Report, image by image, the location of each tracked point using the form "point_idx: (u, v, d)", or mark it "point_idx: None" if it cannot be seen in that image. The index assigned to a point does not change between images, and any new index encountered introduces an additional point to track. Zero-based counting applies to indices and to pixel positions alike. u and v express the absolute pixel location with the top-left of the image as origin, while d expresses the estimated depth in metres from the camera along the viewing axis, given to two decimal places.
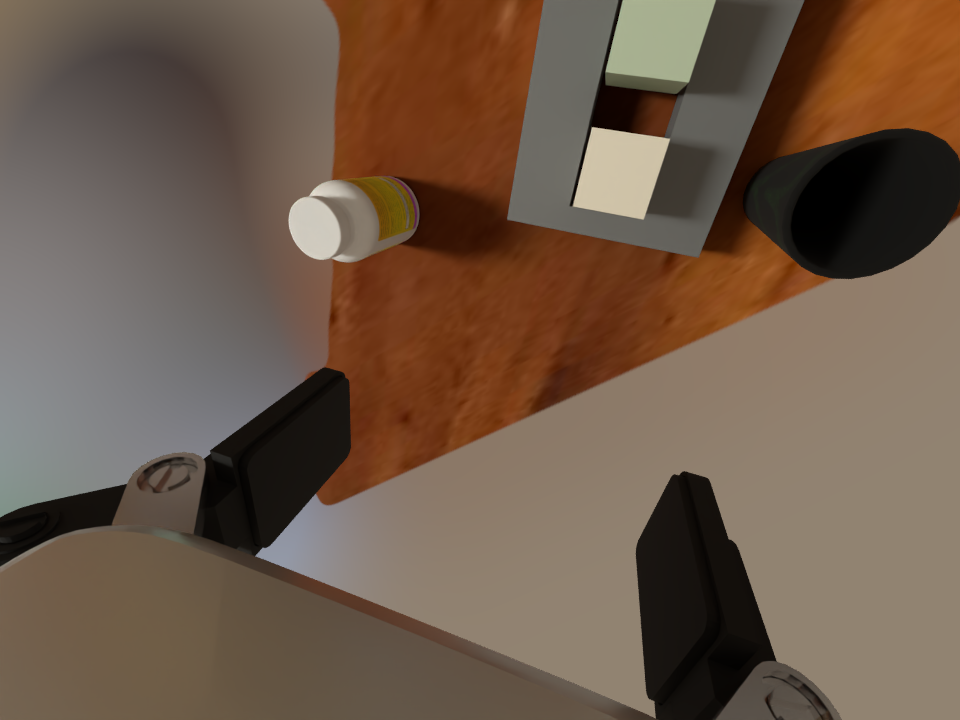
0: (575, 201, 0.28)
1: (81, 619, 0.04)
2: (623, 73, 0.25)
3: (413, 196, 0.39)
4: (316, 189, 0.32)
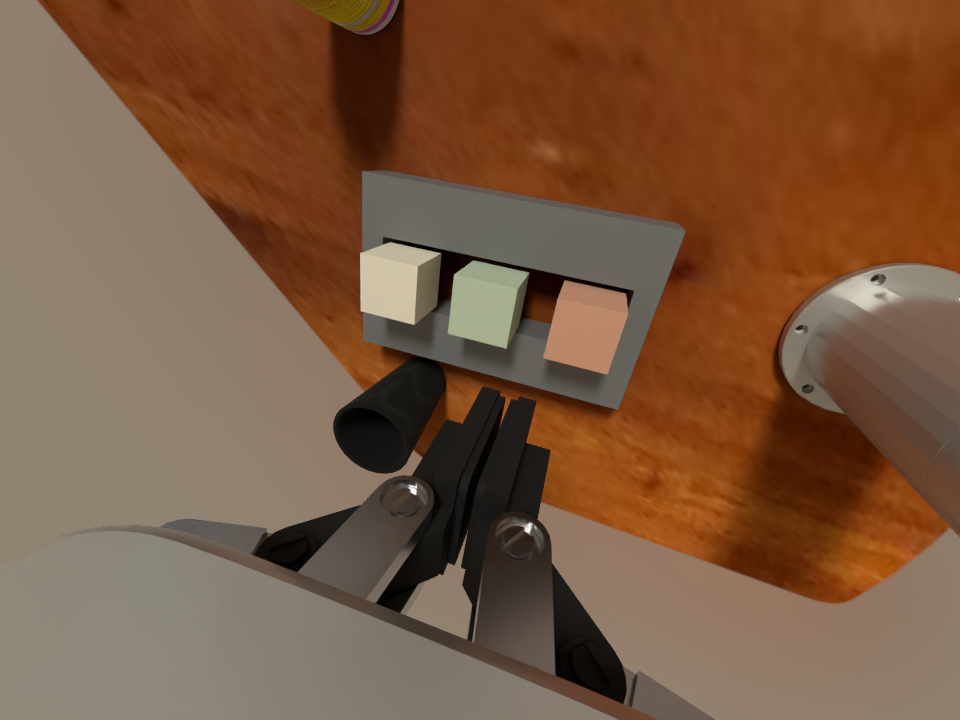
0: (364, 255, 0.32)
1: (81, 619, 0.04)
2: (453, 288, 0.31)
3: (381, 26, 0.31)
4: None
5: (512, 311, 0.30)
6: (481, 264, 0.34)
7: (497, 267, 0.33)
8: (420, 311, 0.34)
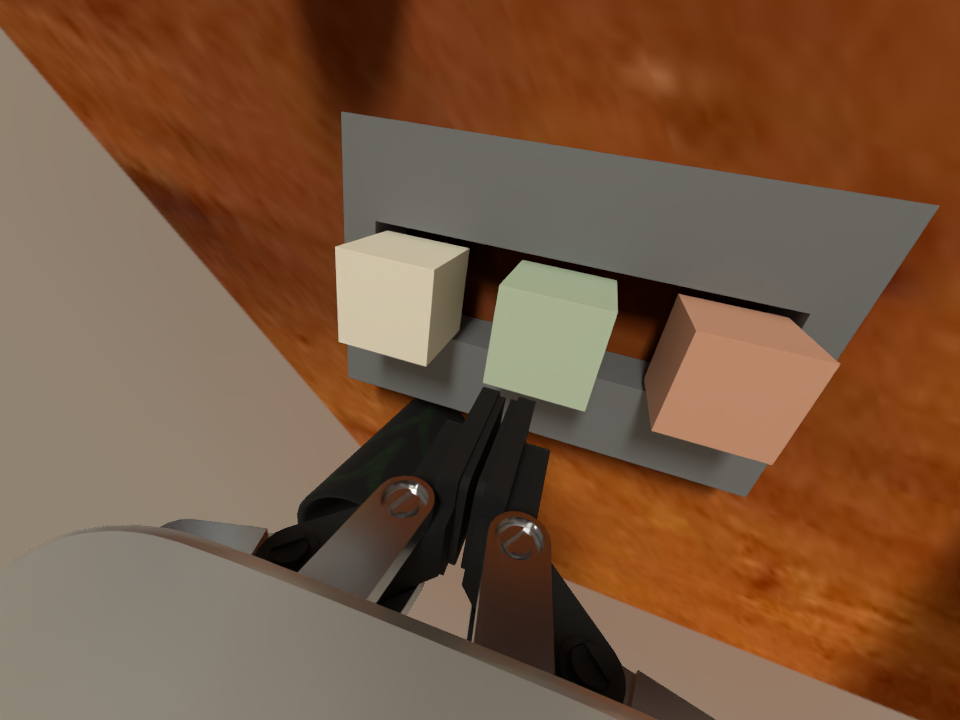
0: (341, 250, 0.18)
1: (81, 619, 0.04)
2: (496, 309, 0.17)
3: None
4: None
5: (603, 351, 0.17)
6: (537, 266, 0.20)
7: (563, 271, 0.20)
8: (436, 343, 0.20)
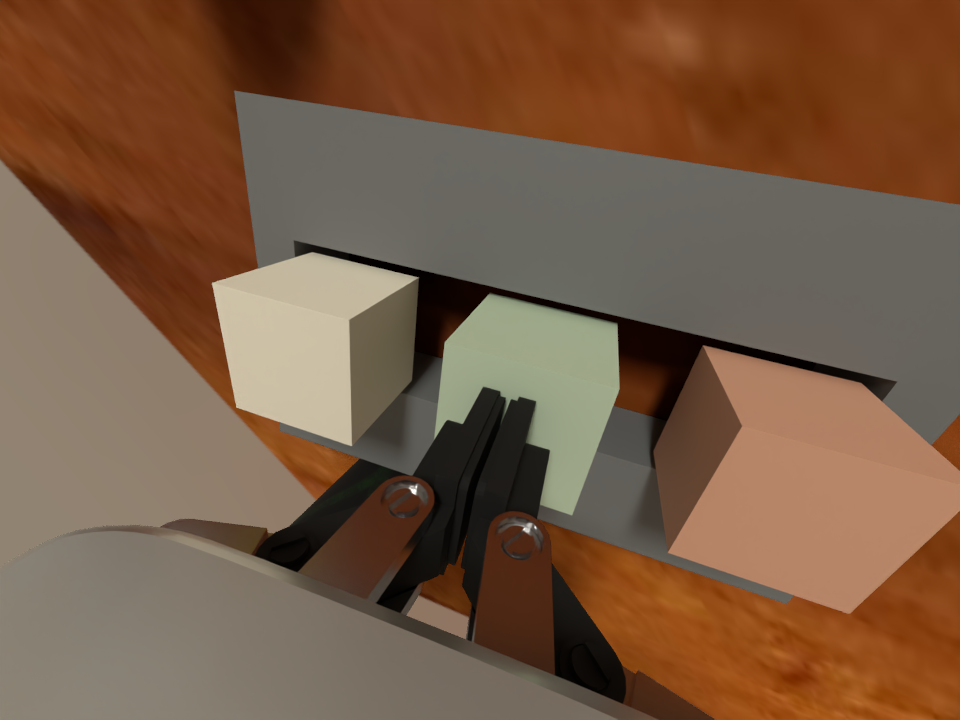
0: (221, 288, 0.13)
1: (81, 619, 0.04)
2: (442, 374, 0.12)
3: None
4: None
5: (597, 440, 0.11)
6: (508, 302, 0.15)
7: (545, 311, 0.15)
8: (368, 411, 0.15)
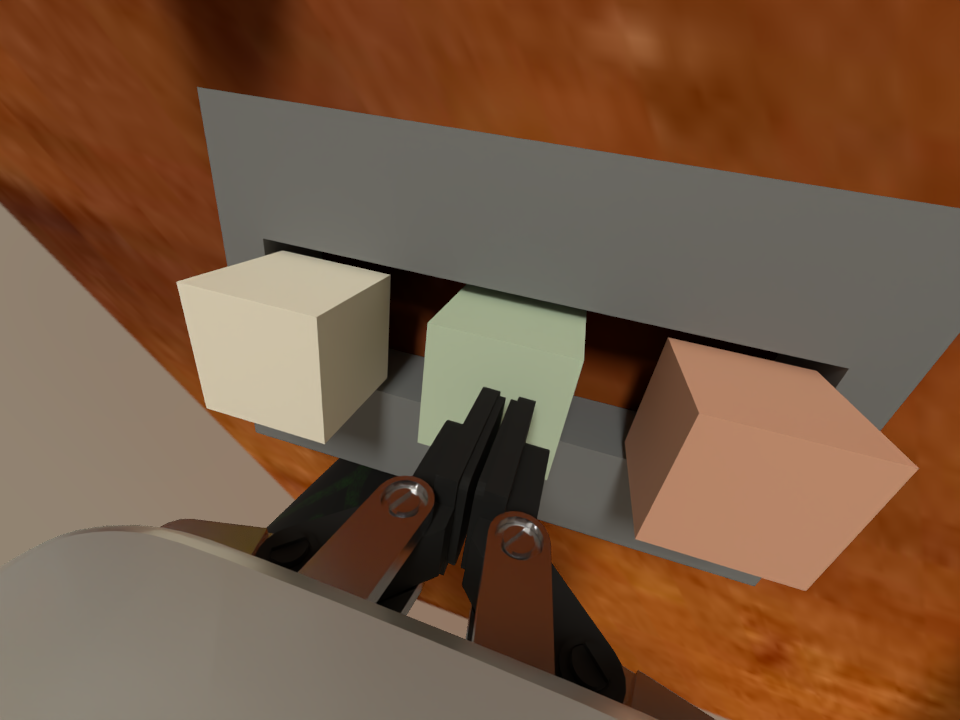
0: (186, 287, 0.13)
1: (81, 619, 0.04)
2: (426, 353, 0.13)
3: None
4: None
5: (566, 408, 0.13)
6: (486, 289, 0.16)
7: (520, 296, 0.16)
8: (341, 408, 0.15)
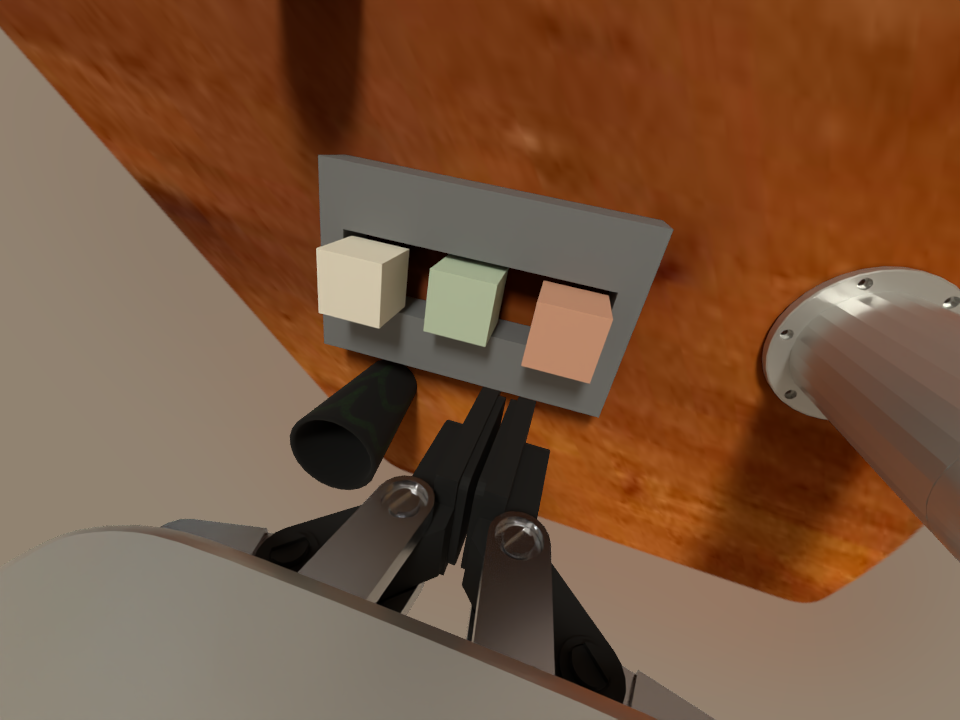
0: (320, 250, 0.28)
1: (81, 619, 0.04)
2: (428, 283, 0.29)
3: None
4: None
5: (491, 308, 0.29)
6: (458, 257, 0.32)
7: (475, 261, 0.32)
8: (386, 313, 0.30)
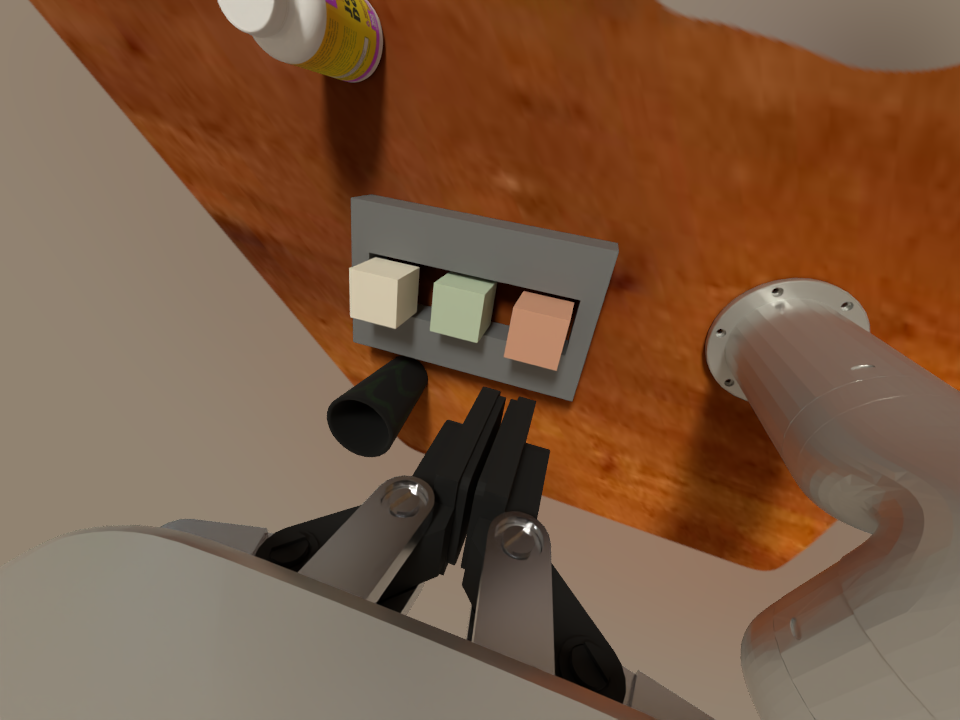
0: (352, 270, 0.37)
1: (81, 619, 0.04)
2: (433, 294, 0.38)
3: (366, 76, 0.37)
4: None
5: (481, 312, 0.37)
6: (458, 273, 0.41)
7: (471, 276, 0.40)
8: (401, 317, 0.39)
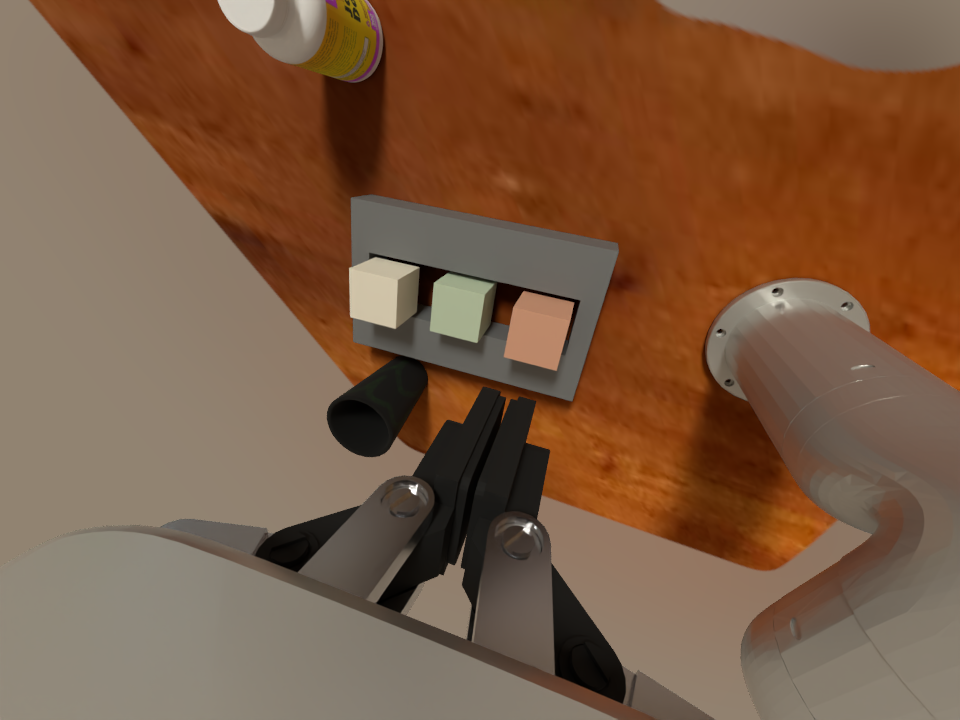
0: (352, 270, 0.37)
1: (81, 619, 0.04)
2: (433, 294, 0.38)
3: (366, 76, 0.37)
4: None
5: (481, 312, 0.37)
6: (458, 273, 0.41)
7: (471, 276, 0.40)
8: (401, 317, 0.39)
